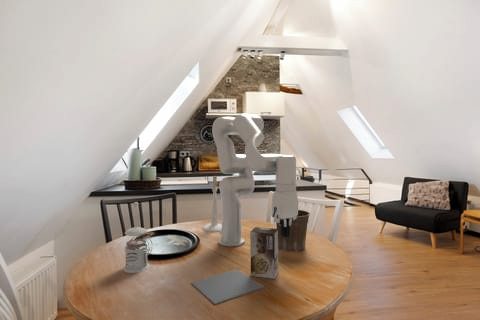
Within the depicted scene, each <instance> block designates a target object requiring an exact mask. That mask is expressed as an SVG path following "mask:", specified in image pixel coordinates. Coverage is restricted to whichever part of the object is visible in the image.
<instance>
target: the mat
mask: <svg viewBox="0 0 480 320" xmlns="http://www.w3.org/2000/svg"><path fill="white" fill-rule="evenodd" d="M190 284H191V285H192V286H194V287H195V288H196V289H197V290H198V291H199V292H200V293H201V294H202V295H203V296H204V297H206V298H207V299H208V301H210V302H211V303H212V304H213V305H215V306H216V305H218V304H221V303H224V302H227V301H230V300H233V299H236V298H239V297H242V296H244V295H248V294H250V293H253V292H255V291H258V290H262V289H265V285H263V284H262V283H260V282H258V281H256V280H255V279H253V278H252V277H251V276H248V275H247V274H245V273H243V272H242V271H240V270H239V269H234V270H230V271H227V272H223V273H220V274H217V275H212V276H208V277H205V278H201V279H198V280H195V281H191V283H190Z"/></svg>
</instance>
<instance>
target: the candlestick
mask: <svg viewBox="0 0 480 320" xmlns="http://www.w3.org/2000/svg"><path fill="white" fill-rule="evenodd" d="M217 178H218V177H217V176H216V175H213V176H212V187H211V190H212V192H213V194H212V205H211V206H212V208H211V211H212V212H211V223H208V224H205V225H204V227H203V231H204V230H205V231H204V232H207V231H208V233H220V232H221V231H222V223H219V217H218V216H219V215H218V199H217V198H218V197H217V196H218V194H217V192H218V189H219V188H218V187H217Z"/></svg>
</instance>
